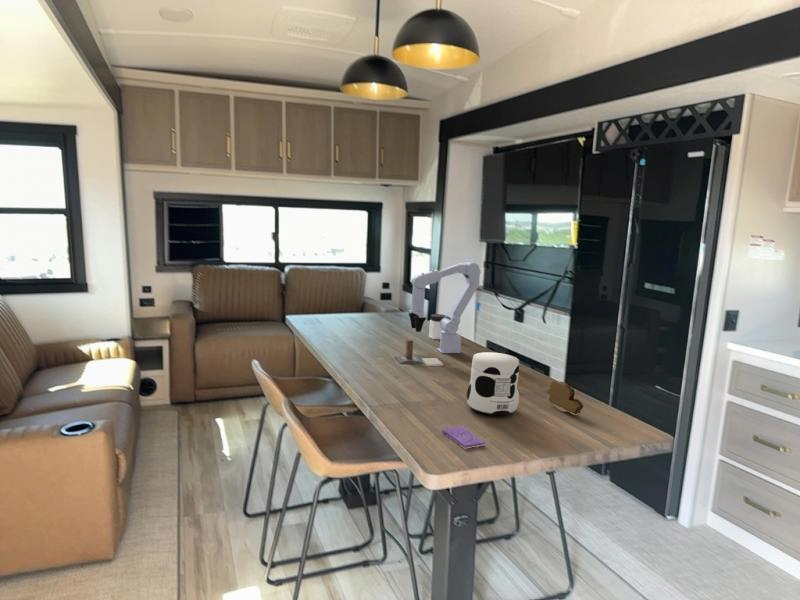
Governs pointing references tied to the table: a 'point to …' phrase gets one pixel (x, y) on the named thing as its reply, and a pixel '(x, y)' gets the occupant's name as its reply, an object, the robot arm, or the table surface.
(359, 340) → the table surface
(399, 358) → the mat
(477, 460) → the table surface
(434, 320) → the jar
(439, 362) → the tile
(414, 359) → the turner
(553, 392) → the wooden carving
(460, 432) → the sponges
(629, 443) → the table surface
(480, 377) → the milk container
